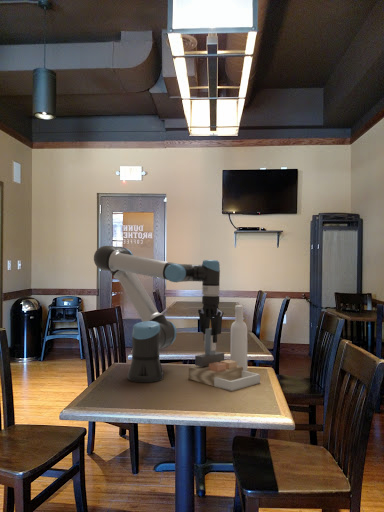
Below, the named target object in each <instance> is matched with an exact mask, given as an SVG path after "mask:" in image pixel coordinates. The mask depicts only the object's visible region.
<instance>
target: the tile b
mask: <svg viewBox="0 0 384 512" xmlns="http://www.w3.org/2000/svg"><path fill="white" fill-rule="evenodd" d="M220 363H224V364H226V369H233V368H237V362H236V361H232V360H230V359H224V361H220Z"/></svg>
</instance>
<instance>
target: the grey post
mask: <svg viewBox="0 0 384 512" xmlns="http://www.w3.org/2000/svg"><path fill="white" fill-rule="evenodd" d="M211 334H212V328H211V327H209V328H207V329H206V330H205V349H204V351H205V352H204V353H202V354H198V355H197V354H196V355H195V358H194V364H195V365H194V366H196V365H197V366H200V367H203V366H208V365H209V364H210V363H215V362H219V363H220V361H224V360H225V352H221V351H216V350H213V351H210V347H211Z"/></svg>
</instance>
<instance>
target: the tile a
mask: <svg viewBox="0 0 384 512" xmlns="http://www.w3.org/2000/svg"><path fill="white" fill-rule="evenodd" d="M209 370H212V371H216V372H220V371H224V370H226V364H224V363H219V362H215V363H210V364H209Z"/></svg>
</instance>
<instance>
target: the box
mask: <svg viewBox="0 0 384 512" xmlns="http://www.w3.org/2000/svg"><path fill="white" fill-rule="evenodd" d="M260 383H261V374H259V373H257V372H252V371H249V370H247V371H244V370H243V371H242V378H239V379H235V380H231V381H229V380H225V379H221V378H218V377H214V386H213V387H216V388H217V389H222V390H226V391H228V392H233V391H237V390H239V389H240V390H241V389H243V388H247V387H250V386H254V385H257V384H260Z"/></svg>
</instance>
